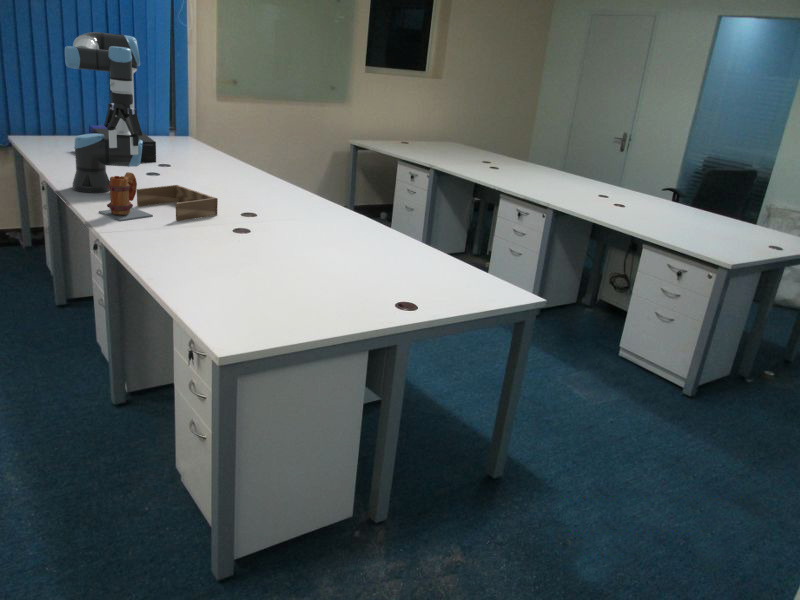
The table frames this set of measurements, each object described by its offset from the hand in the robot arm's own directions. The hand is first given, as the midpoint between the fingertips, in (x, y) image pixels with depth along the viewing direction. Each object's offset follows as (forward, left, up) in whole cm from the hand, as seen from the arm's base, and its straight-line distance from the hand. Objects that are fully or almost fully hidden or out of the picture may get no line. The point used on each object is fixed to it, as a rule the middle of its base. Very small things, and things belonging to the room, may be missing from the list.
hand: (123, 151), depth 242 cm
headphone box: (-103, +64, -25) cm, 124 cm away
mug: (-1, 0, -24) cm, 24 cm away
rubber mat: (0, 0, -24) cm, 25 cm away
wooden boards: (+4, +20, -24) cm, 32 cm away
